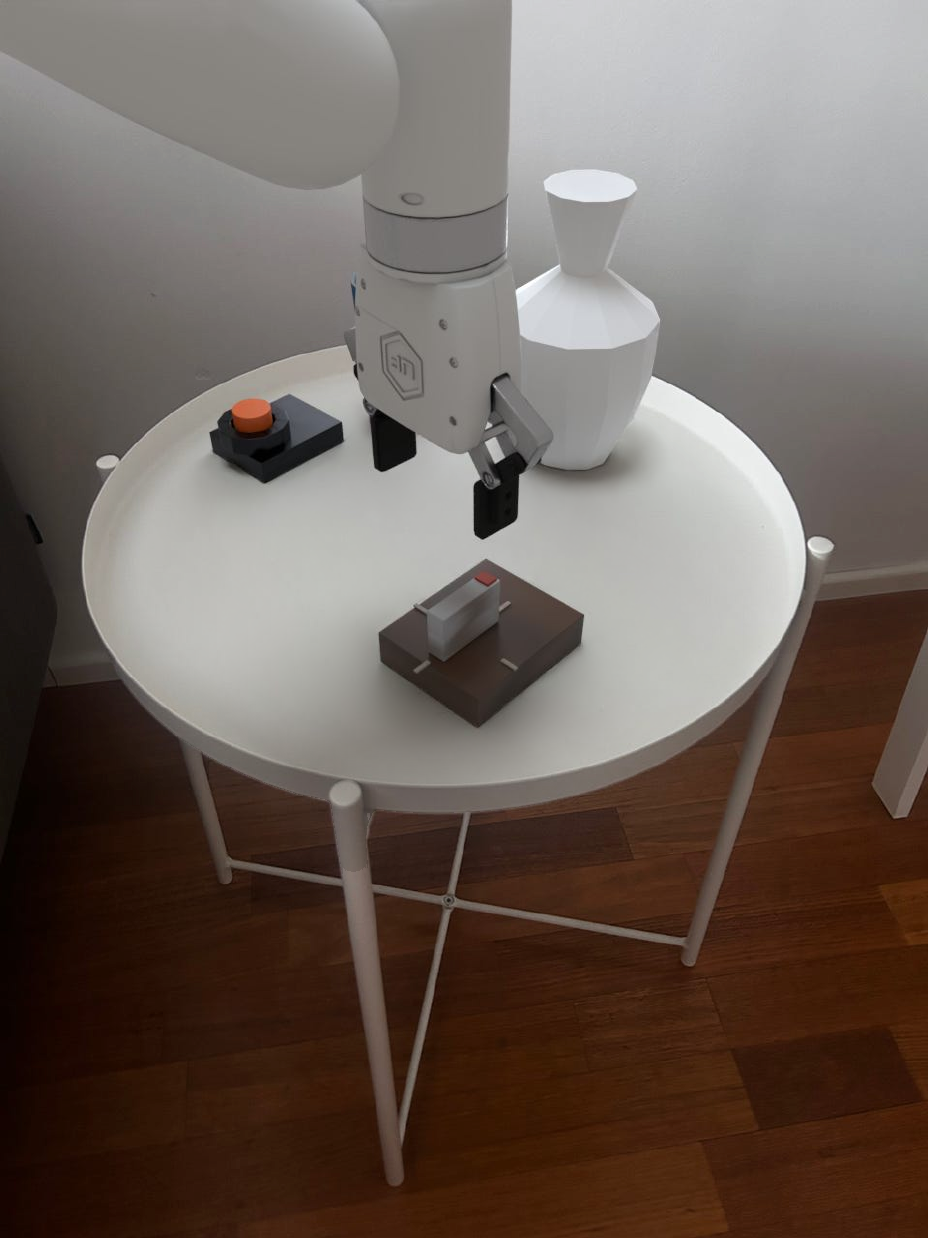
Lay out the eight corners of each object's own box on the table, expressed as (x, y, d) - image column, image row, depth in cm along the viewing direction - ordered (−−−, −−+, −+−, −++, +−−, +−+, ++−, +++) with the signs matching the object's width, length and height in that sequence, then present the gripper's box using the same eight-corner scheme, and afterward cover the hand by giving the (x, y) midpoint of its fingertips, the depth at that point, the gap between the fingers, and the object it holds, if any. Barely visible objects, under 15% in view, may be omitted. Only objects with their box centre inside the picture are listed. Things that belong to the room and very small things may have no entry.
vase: (465, 450, 98) (466, 186, 81) (555, 396, 106) (573, 144, 89) (581, 509, 91) (609, 233, 74) (669, 445, 99) (712, 183, 82)
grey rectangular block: (443, 662, 72) (443, 618, 69) (427, 651, 73) (426, 608, 70) (499, 621, 76) (500, 577, 73) (483, 611, 76) (484, 568, 73)
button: (250, 438, 93) (247, 422, 92) (226, 424, 95) (223, 408, 94) (280, 423, 95) (278, 407, 94) (256, 410, 97) (254, 394, 96)
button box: (258, 486, 94) (252, 450, 91) (206, 454, 98) (198, 418, 95) (344, 441, 100) (341, 405, 97) (291, 412, 104) (287, 377, 101)
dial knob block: (467, 738, 71) (468, 707, 69) (368, 668, 76) (365, 637, 74) (582, 643, 78) (585, 613, 76) (484, 585, 83) (485, 555, 81)
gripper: (283, 201, 56) (316, 461, 68) (497, 302, 46) (493, 585, 58) (389, 169, 60) (403, 421, 71) (607, 256, 50) (583, 531, 62)
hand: (443, 494), depth 65 cm, fingers open, 9 cm apart
